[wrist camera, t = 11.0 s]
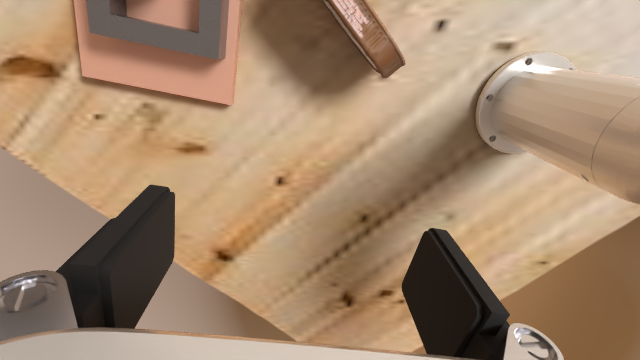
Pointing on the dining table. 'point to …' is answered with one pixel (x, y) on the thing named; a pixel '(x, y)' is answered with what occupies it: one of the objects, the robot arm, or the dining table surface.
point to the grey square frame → (163, 28)
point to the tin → (367, 34)
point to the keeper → (161, 53)
